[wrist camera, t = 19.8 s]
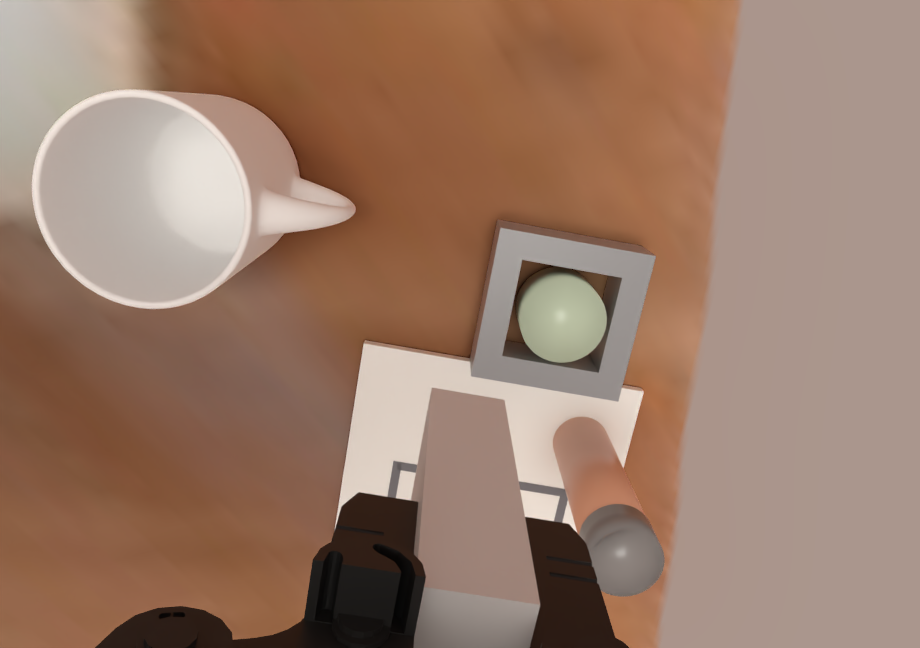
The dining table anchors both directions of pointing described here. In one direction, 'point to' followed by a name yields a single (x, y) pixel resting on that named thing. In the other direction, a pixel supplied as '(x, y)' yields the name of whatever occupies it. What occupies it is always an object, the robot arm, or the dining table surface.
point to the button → (560, 315)
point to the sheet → (528, 408)
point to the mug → (169, 193)
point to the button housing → (574, 251)
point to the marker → (606, 509)
